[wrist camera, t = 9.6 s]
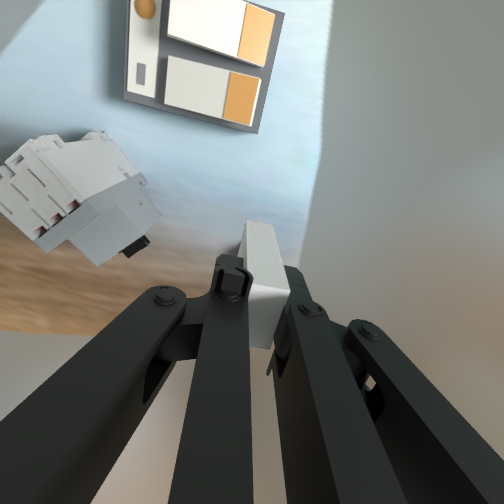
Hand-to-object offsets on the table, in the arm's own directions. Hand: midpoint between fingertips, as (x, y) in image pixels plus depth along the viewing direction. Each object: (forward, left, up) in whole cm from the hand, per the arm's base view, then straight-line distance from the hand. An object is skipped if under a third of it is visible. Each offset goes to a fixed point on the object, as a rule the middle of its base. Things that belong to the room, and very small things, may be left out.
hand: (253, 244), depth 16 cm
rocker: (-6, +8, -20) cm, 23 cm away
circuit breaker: (-17, -7, -27) cm, 32 cm away
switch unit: (-8, +11, -26) cm, 30 cm away
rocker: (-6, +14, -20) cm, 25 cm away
